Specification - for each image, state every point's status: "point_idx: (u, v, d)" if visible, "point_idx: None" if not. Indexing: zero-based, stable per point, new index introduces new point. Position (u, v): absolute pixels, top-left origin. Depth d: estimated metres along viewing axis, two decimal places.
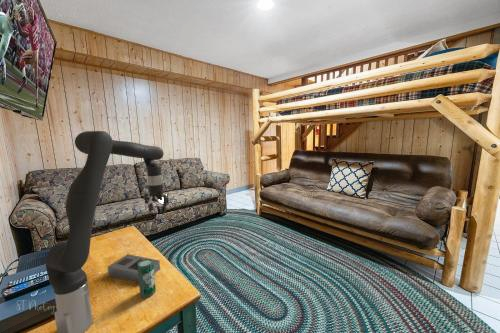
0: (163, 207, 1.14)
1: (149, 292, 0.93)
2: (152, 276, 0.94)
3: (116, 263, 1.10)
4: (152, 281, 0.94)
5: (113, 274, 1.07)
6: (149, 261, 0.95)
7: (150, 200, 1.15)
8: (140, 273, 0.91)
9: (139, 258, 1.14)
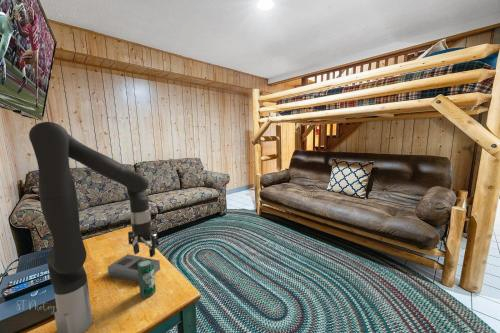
0: (151, 250, 0.90)
1: (149, 292, 0.93)
2: (152, 276, 0.94)
3: (116, 263, 1.10)
4: (152, 281, 0.94)
5: (113, 274, 1.07)
6: (149, 261, 0.95)
7: (135, 241, 0.91)
8: (140, 273, 0.91)
9: (139, 258, 1.14)
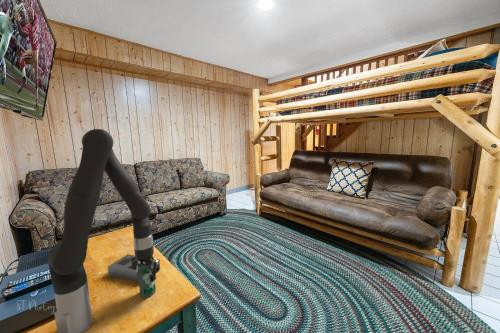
0: (152, 275, 0.92)
1: (149, 292, 0.93)
2: None
3: (116, 263, 1.10)
4: None
5: (113, 274, 1.07)
6: None
7: None
8: (140, 273, 0.91)
9: None
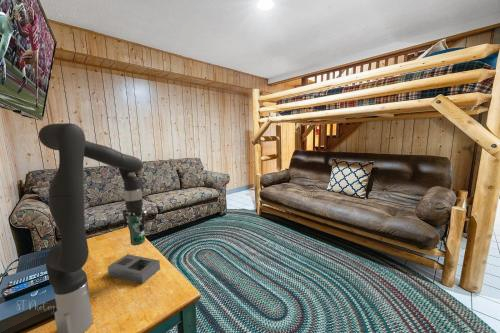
0: (141, 225, 1.03)
1: (139, 240, 1.04)
2: None
3: (116, 263, 1.10)
4: None
5: (113, 274, 1.07)
6: None
7: None
8: (130, 222, 1.02)
9: (139, 258, 1.14)
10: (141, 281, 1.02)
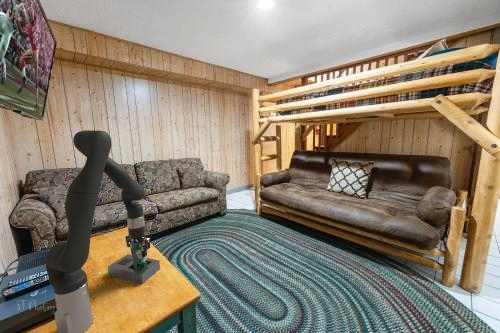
0: (144, 251, 1.05)
1: (141, 266, 1.06)
2: None
3: (116, 263, 1.10)
4: None
5: (113, 274, 1.07)
6: None
7: None
8: (133, 249, 1.04)
9: None
10: (141, 281, 1.02)
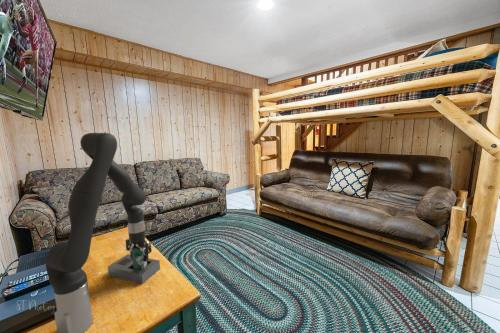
0: (145, 255, 1.06)
1: None
2: None
3: (116, 263, 1.10)
4: (144, 263, 1.07)
5: (113, 274, 1.07)
6: None
7: (131, 247, 1.06)
8: (134, 255, 1.05)
9: None
10: (141, 281, 1.02)
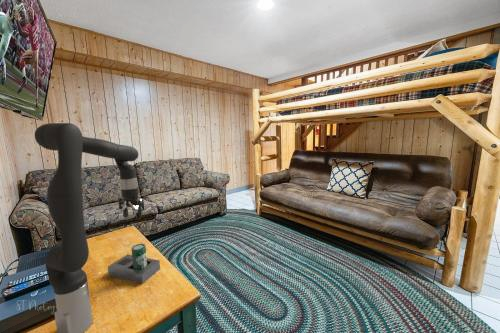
0: (138, 213, 1.04)
1: None
2: (144, 259, 1.07)
3: (116, 263, 1.10)
4: (144, 263, 1.07)
5: (113, 274, 1.07)
6: (142, 246, 1.09)
7: (124, 205, 1.05)
8: (134, 255, 1.05)
9: None
10: (141, 281, 1.02)
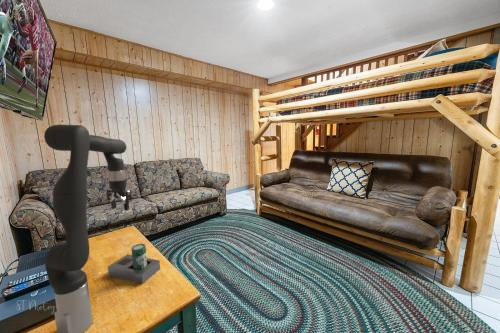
0: (125, 204, 1.08)
1: None
2: (144, 259, 1.07)
3: (116, 263, 1.10)
4: (144, 263, 1.07)
5: (113, 274, 1.07)
6: (142, 246, 1.09)
7: (112, 197, 1.08)
8: (134, 255, 1.05)
9: None
10: (141, 281, 1.02)
